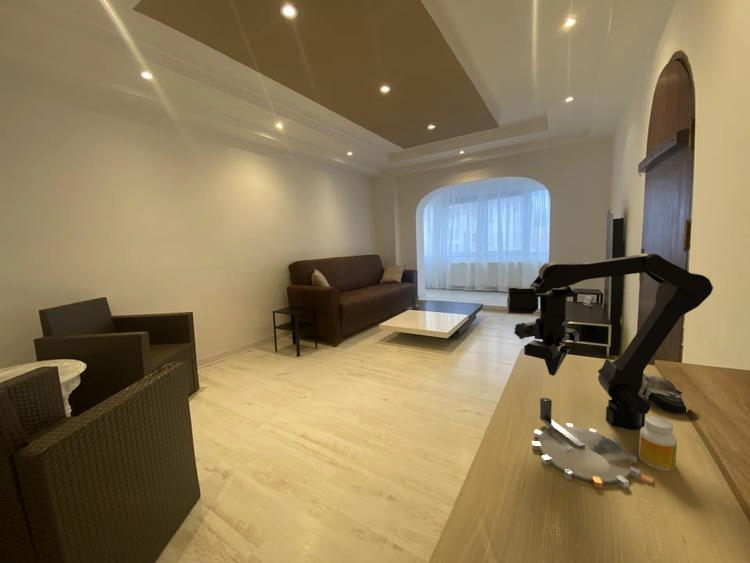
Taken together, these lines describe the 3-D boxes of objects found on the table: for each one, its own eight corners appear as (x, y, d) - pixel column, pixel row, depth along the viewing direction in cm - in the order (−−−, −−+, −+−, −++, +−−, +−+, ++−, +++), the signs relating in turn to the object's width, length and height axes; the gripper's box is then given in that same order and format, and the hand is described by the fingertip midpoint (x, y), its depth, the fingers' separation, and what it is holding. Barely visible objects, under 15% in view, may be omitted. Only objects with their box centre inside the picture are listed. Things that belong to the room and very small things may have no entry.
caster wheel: (692, 424, 78) (642, 413, 81) (672, 395, 87) (629, 385, 91) (702, 404, 75) (651, 393, 79) (681, 375, 85) (636, 367, 88)
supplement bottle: (678, 481, 58) (682, 433, 57) (641, 471, 61) (643, 425, 60) (670, 462, 63) (673, 418, 61) (636, 454, 65) (638, 411, 64)
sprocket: (594, 422, 75) (595, 396, 74) (666, 489, 55) (668, 456, 54) (516, 422, 77) (516, 398, 76) (557, 488, 56) (558, 456, 56)
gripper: (535, 303, 88) (535, 356, 90) (502, 317, 76) (502, 377, 78) (580, 308, 79) (579, 366, 81) (551, 324, 67) (550, 392, 69)
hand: (552, 374), depth 78 cm, fingers closed
